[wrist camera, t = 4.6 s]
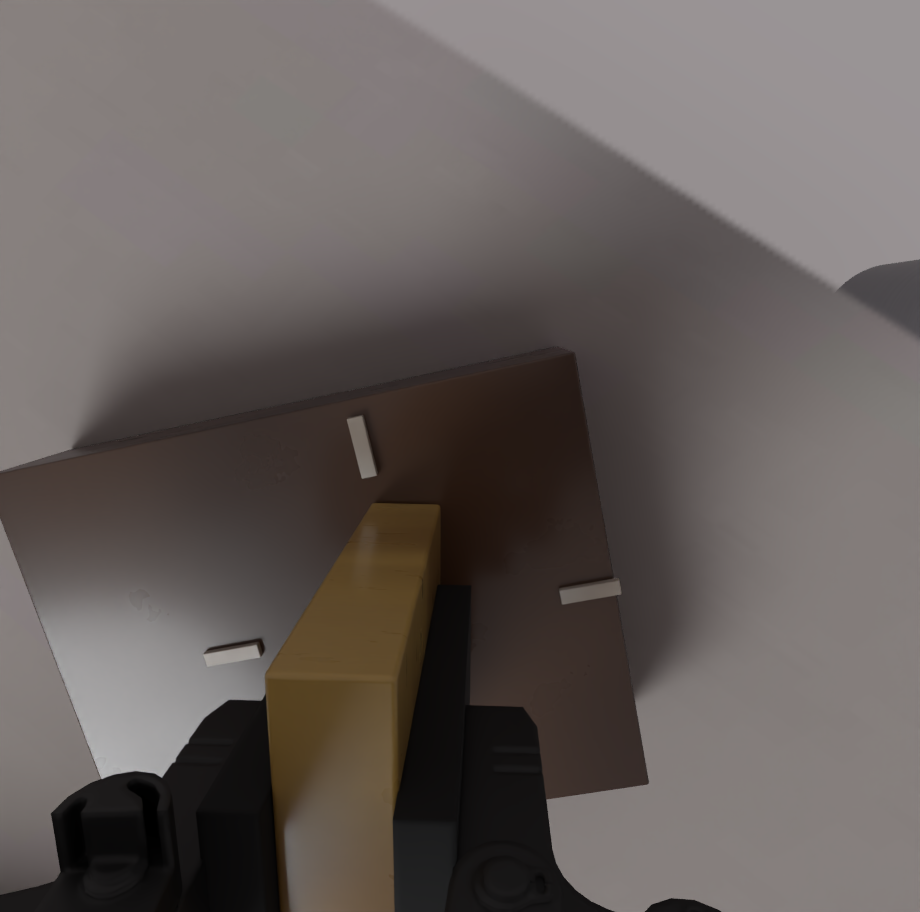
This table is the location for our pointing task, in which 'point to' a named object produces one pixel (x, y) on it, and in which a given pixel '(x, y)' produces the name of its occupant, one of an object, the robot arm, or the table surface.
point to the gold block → (351, 713)
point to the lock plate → (332, 557)
